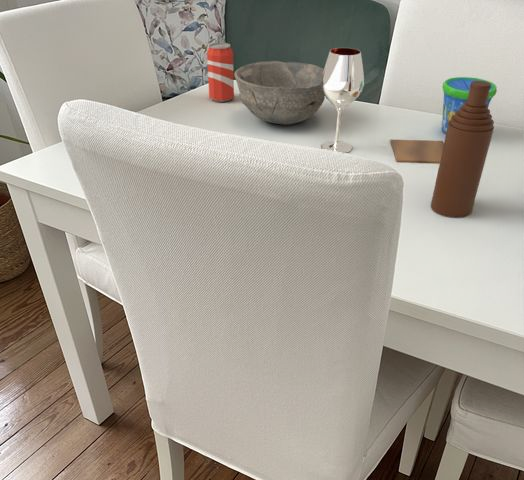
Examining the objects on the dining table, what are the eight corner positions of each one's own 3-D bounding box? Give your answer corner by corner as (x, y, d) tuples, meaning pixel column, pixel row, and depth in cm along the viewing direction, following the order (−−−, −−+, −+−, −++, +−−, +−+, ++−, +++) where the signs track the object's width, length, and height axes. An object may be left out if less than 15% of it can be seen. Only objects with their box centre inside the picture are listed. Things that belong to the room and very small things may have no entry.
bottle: (458, 197, 100) (489, 75, 87) (479, 215, 95) (514, 88, 82) (423, 201, 99) (448, 78, 86) (442, 219, 94) (472, 91, 81)
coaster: (442, 142, 120) (443, 140, 119) (453, 163, 111) (453, 161, 111) (390, 141, 120) (390, 139, 120) (396, 161, 112) (396, 160, 111)
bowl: (266, 143, 119) (267, 92, 112) (218, 114, 132) (216, 68, 125) (344, 124, 127) (349, 77, 121) (291, 100, 140) (293, 55, 134)
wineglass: (317, 139, 120) (323, 45, 109) (355, 141, 120) (366, 46, 108) (315, 154, 114) (322, 56, 103) (356, 156, 114) (368, 57, 102)
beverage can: (238, 97, 142) (237, 44, 134) (224, 104, 138) (222, 49, 130) (218, 93, 144) (216, 40, 136) (204, 100, 140) (201, 46, 132)
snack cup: (493, 147, 118) (507, 96, 111) (441, 146, 118) (452, 95, 111) (474, 121, 129) (486, 73, 123) (428, 120, 130) (437, 72, 123)
